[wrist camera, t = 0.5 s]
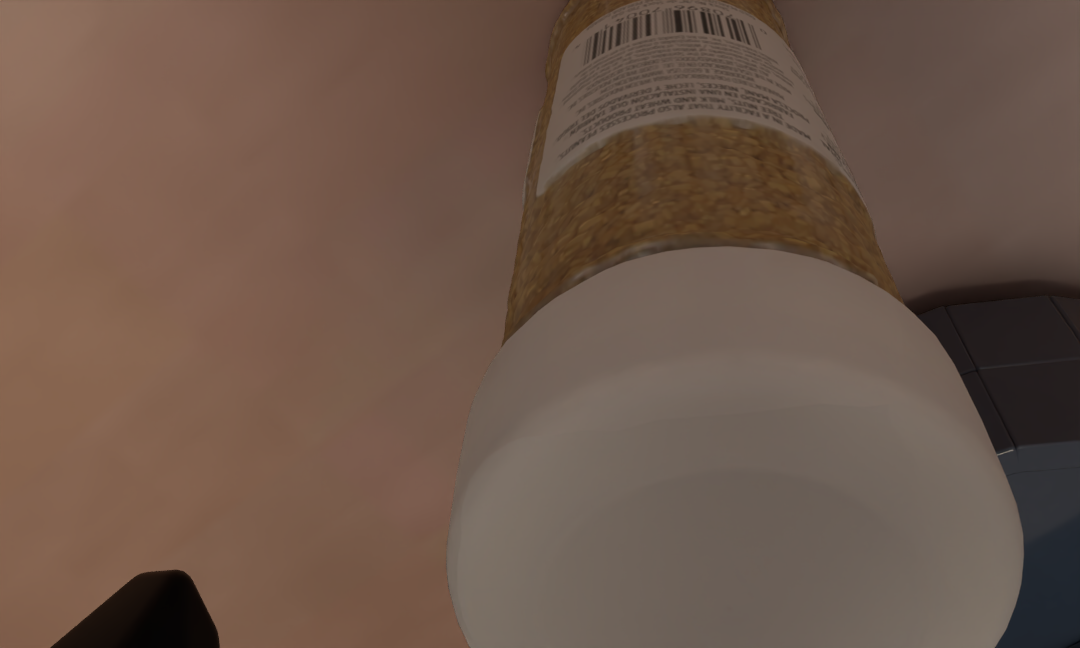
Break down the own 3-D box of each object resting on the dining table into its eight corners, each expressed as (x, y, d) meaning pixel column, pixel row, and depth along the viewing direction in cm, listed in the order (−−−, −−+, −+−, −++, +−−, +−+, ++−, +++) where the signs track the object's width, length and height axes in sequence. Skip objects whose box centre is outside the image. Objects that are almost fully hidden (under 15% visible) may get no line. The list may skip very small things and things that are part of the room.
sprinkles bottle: (528, 151, 20) (403, 743, 9) (574, -87, 18) (483, 314, 7) (751, 196, 20) (905, 834, 9) (827, -33, 18) (1166, 448, 7)
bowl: (1216, 675, 27) (1332, 869, 22) (725, 700, 29) (743, 884, 24) (1325, 246, 20) (1520, 403, 16) (677, 318, 22) (690, 474, 18)
